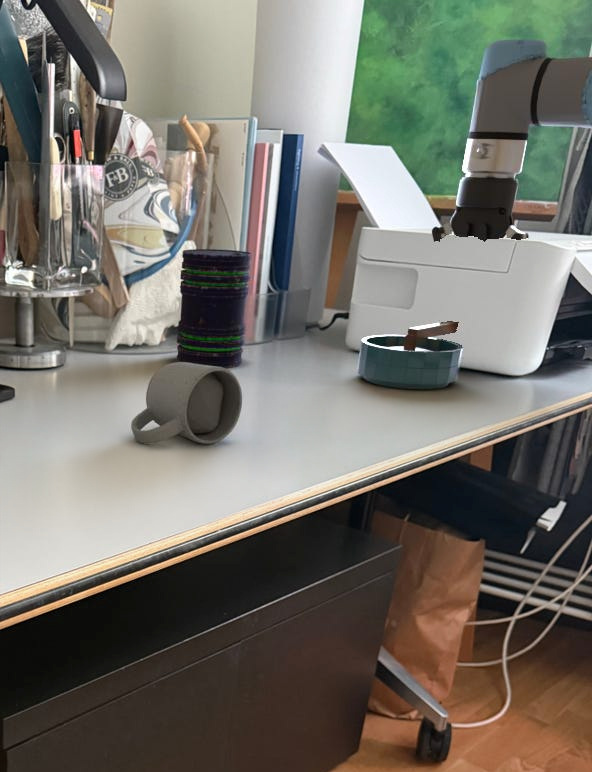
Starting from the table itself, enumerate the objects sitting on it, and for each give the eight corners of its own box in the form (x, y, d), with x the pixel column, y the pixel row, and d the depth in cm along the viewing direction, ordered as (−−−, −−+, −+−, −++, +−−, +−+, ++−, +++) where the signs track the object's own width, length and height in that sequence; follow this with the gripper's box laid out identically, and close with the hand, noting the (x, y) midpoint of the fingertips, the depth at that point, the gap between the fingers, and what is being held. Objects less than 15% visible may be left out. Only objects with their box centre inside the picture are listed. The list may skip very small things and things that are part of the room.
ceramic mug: (192, 422, 104) (196, 351, 101) (241, 439, 98) (246, 364, 95) (114, 435, 99) (115, 361, 96) (160, 454, 93) (163, 376, 90)
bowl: (462, 378, 131) (470, 341, 129) (446, 395, 121) (453, 355, 119) (369, 367, 137) (374, 332, 134) (345, 383, 126) (350, 345, 124)
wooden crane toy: (441, 352, 140) (450, 303, 137) (479, 359, 136) (489, 308, 133) (375, 367, 128) (383, 313, 125) (414, 374, 124) (424, 319, 121)
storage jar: (167, 364, 135) (173, 252, 128) (184, 353, 143) (190, 248, 136) (235, 370, 132) (245, 256, 125) (248, 358, 140) (258, 251, 134)
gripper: (424, 173, 128) (395, 349, 139) (534, 177, 119) (494, 366, 130) (450, 174, 133) (420, 344, 144) (558, 178, 124) (517, 360, 134)
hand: (455, 354), depth 137 cm, fingers closed on wooden crane toy, 2 cm apart
